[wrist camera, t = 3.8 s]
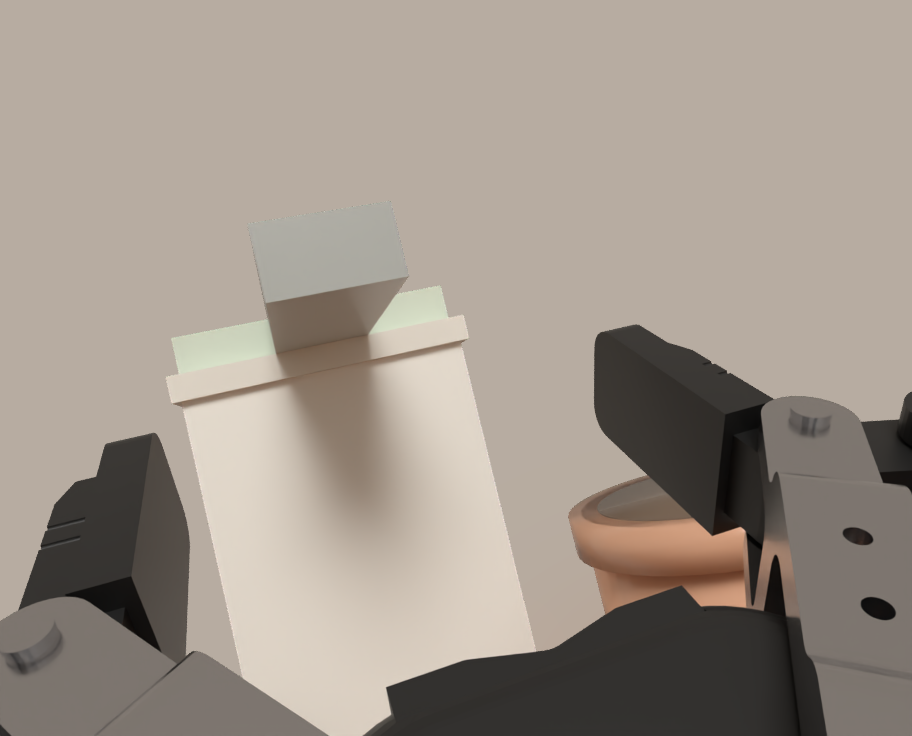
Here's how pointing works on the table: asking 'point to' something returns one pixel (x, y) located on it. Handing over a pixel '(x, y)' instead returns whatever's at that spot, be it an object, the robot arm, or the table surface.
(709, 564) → the terracotta pot
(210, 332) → the cover
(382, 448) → the upright grey panel box
